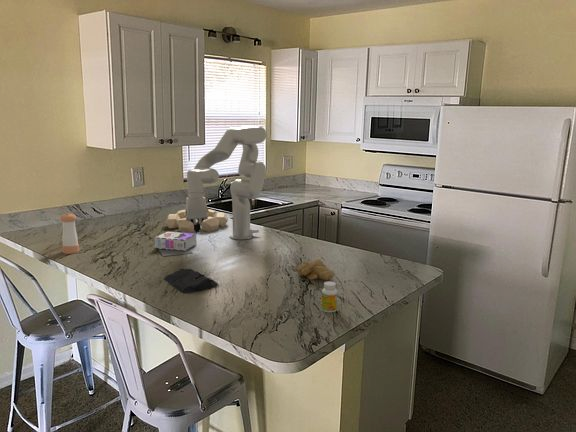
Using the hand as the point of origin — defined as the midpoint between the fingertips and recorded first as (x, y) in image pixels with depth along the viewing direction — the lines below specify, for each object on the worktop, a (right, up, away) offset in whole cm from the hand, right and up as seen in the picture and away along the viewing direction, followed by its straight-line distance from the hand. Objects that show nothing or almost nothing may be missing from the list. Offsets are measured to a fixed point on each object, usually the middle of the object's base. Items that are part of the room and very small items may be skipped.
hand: (197, 231), depth 238 cm
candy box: (-3, -5, +1) cm, 6 cm away
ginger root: (+55, -18, -36) cm, 69 cm away
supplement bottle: (+59, -25, -70) cm, 95 cm away
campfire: (-9, +1, +48) cm, 49 cm away
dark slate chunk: (+6, -19, -45) cm, 50 cm away
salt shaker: (-59, -10, -7) cm, 61 cm away
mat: (-10, -9, -3) cm, 14 cm away
